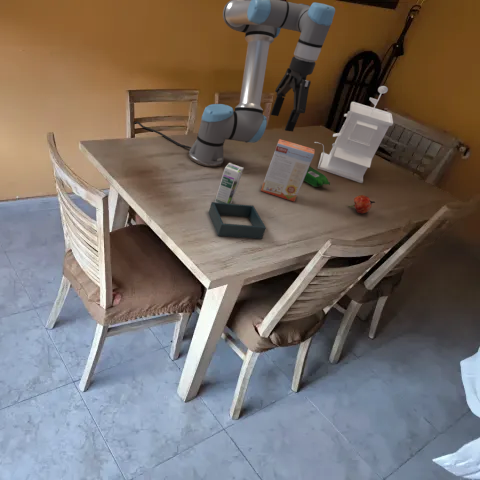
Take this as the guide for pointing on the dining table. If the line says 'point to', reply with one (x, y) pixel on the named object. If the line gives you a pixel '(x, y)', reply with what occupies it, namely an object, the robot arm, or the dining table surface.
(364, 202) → the pomegranate
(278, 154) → the cracker box
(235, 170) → the syrup box
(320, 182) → the snack package
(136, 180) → the dining table surface
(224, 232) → the bin
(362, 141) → the white toy machine
